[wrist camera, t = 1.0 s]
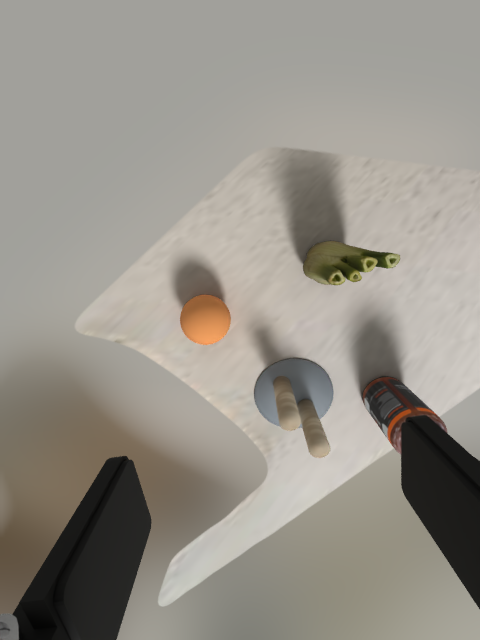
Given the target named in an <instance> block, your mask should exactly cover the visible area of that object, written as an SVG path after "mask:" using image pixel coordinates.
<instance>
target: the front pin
mask: <svg viewBox="0 0 480 640" xmlns="http://www.w3.org/2000/svg"><path fill="white" fill-rule="evenodd" d="M273 387H274V394H275V400H276V406H277V413H278V419H279V424H280V426H281V428H283V429H284V430H287V431H292V430H295V429H297V428H298V427H299V426H300V424H301V418H300V415H299V411H298V408H297V404H296V401H295V397H294V394H293V390H292V386H291V383H290V380H289V379H288V378H287V377H285V376H278V377H276V378H275V379H274V381H273Z"/></svg>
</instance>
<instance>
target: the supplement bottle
mask: <svg viewBox="0 0 480 640" xmlns="http://www.w3.org/2000/svg"><path fill="white" fill-rule="evenodd" d="M363 403H364V405H365V407H366V409H367V410H368V412H369V413H370V414H371V416H372V417H373V419H374V420H375V422H376V423H377V424H378V426H379V427H380V429H381V430H382V432H383V433H384V434H385V436H386V437H387V439H388V440H389V442H390V443H391V444H392V446H393V447H394V448H395V449H396V450H397V451H398V453H400V454H401V424H402V423H403V422H405V420H406V418H407V417H412V416H419V415H427V416H428V417H430V418H431V419H432V420H433V421H434V422H435V423H436V424H437V425H438V426H440V427H441V428H442V429H443V430H444V431H445V432H446V433H447V428H446V426H445V424H444V422H443V421H442V420H441V419H440V418H439V417H438V416H437V415H436V414H435V413H434V412H433V411H432V410H431V409H430V408H429V407H428V406H427V405H426V404H425V403H423V401H421V400H420V399H419V398H418V397H417V396H416V395H415V394H414V393H413V392H412V391H411V390H409V389H408V388H407V387H406V386H405V385H404V384H403V383H402V382H400V381H399V380H397V379H395V378H392V377H382V378H378V379H376V380H374V381H372V382H371V383H370V384H369V385H368V386H367V387H366V388H365V390H364V393H363Z"/></svg>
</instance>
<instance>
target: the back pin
mask: <svg viewBox="0 0 480 640" xmlns="http://www.w3.org/2000/svg"><path fill="white" fill-rule="evenodd" d="M297 408H298V411H299V415H300V418H301V424H302V428H303V431H304V435H305V438H306V442H307V446H308V449H309V452H310V454H311V455H312V456H313V457H316V458H322V457H325V456H327V455H328V454H329V452H330V445H329V443H328V440H327V437H326V435H325V432H324V430H323V427H322V424H321V422H320V419H319V417H318V414H317V412H316V409H315V406H314V404H313V402H312V401H311V400H309V399H303V400H301V401H299V402H298V404H297Z"/></svg>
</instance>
